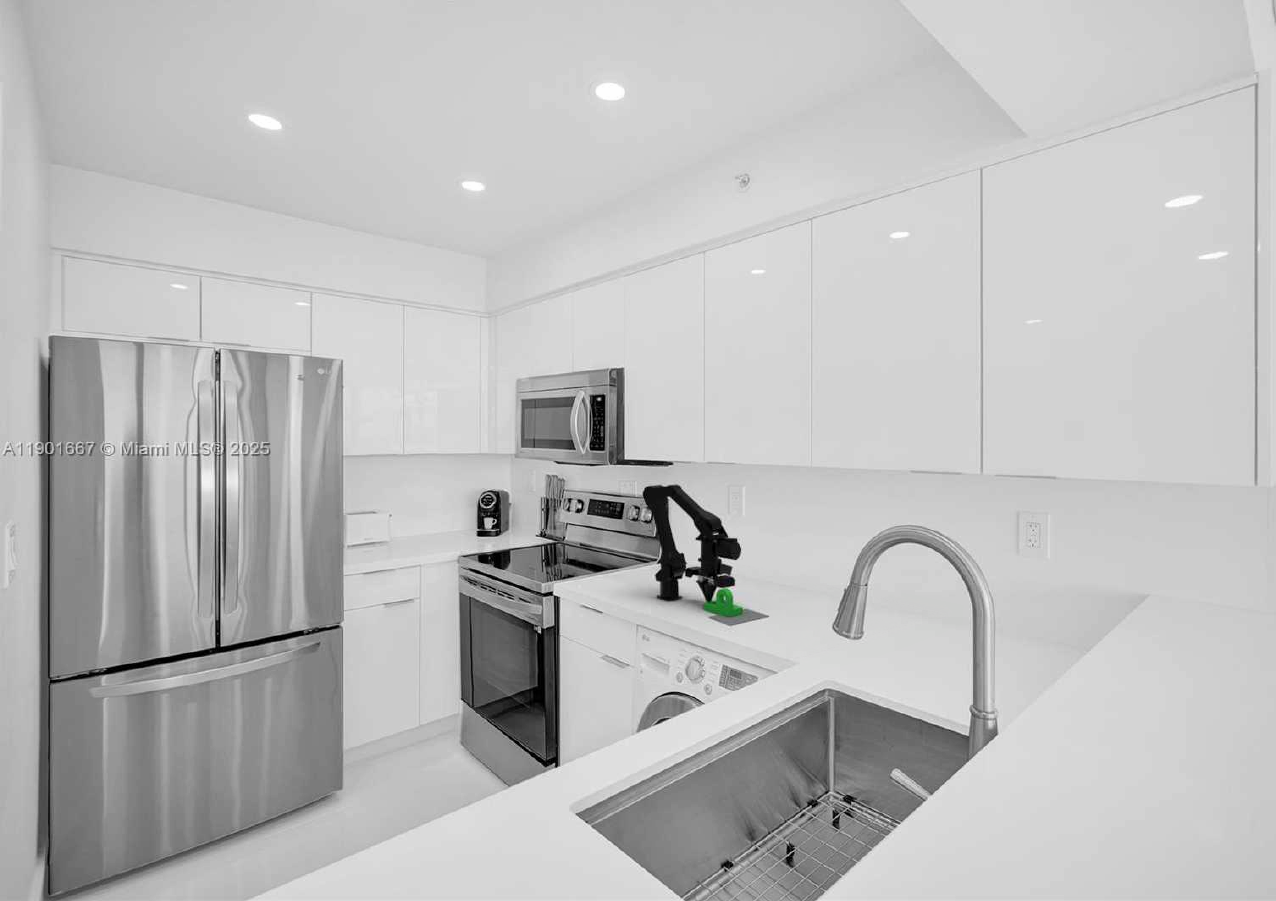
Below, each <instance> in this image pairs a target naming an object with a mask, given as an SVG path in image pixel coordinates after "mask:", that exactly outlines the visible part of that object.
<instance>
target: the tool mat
mask: <svg viewBox="0 0 1276 901" xmlns="http://www.w3.org/2000/svg"><path fill="white" fill-rule="evenodd" d="M768 616H769V615H767V614H764V613H761V612H759V611H755V610H751V609H749V608H743V614H740V615H735V616H731V617H727V616H724V615H720V614H716V615H715V614H714V615H710V616H708V618H709V619H711V620H713V619H714V620H713V621H717V622H720V623H722V624H725V625H728V626H730V627H732V626H736V625H739V624H744V623H747V622H748V621H749V622H752V621H751V620H753V621H756V620H755V619H757V620H761V619H765V618H769V617H768ZM731 625H732V626H731Z"/></svg>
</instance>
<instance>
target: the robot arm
mask: <svg viewBox="0 0 1276 901" xmlns="http://www.w3.org/2000/svg"><path fill="white" fill-rule="evenodd" d="M642 498H643V500H644V503H645V505H646V507H647V508H648V509H649V511H651V513H652V516H653V520H654V526H655V528H656V533H657V536H658V541H659V545H660V548H661V549H660V550H661V556H660V557H661V558H660V569H659V570H658V571H657V572H656V573H655V575H654V577H655V581H656V582H659V589H660V590H659V591H660V592H659V594H657V595H656V598H658V597H659V599H661V598H662V600H663V599H664V601H667V602H669V601H674V600H679V599H683V596H681V595H680V593H679V592H680V590H679V589H680V586H679V580H682V579H683V577H686V578H689V579H691V578H692V577H693V576H697V580H695V582H696V584H697V585H698V586H699V589H700V591H701V592H702V594H703V596H704V600H705V602H710V601H713V598H714V596H715V593H716V590H717V588H719V589H724V588H730V587H735V586H736V578H734V576H731V575H732V570H733V566H732V565H729V564H726V563H723V560H722V559H727V560H733V561H738V559H739V558H740V557H741V554H742V547H741V544H740V543H739V541H738V538H737V537H729V534H728V533H727V532H726V529H725V528H724V526H723V524H722V520H721V518H719V517H718V516H717V515H715V513H712V512H710V511H708V510H705V509H704V508H702V507H701V505H699V503H697V502H696V501H695V500H694V499H693V498H692V497H691V496H690V495H689V494H688V493H687V492H685V491H684V490H683V488H682V486H680V485H679V484H668V485H666V486H663V485H662V484H655V485H648V486H646V487H644V489H643V491H642ZM668 498H671V500H672V501H673V502H675V503H676V505H677V506H679V507H680V509H681V510H683V511H684V513H686V514H687V516H689V517H690V519H691V520H692V522H693V526H695V528H696V530H697V531H698V533H699V535H698V536H696V537H695V539H694V540H695V541H699V542H700V557H698V558H697V562H700V566H698V565H695V566H690V567H687V565H688V563H687V561H686V557H685V553H684V552H679V550H678V549H677V546H676V543H675V540H674V535H673V531H672V527H671V524H670V520H669V516H668V512H667V511H668V510H667V506H668V500H669V499H668Z"/></svg>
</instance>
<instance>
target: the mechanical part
mask: <svg viewBox="0 0 1276 901" xmlns="http://www.w3.org/2000/svg"><path fill="white" fill-rule="evenodd" d="M715 599H716V600H712V601H710V602H707V601H705V602H702V610H704V611H707V612H711V613H714V614H716V615H719V614H720V615H724V616H727V617H731V616H735V615H740V614H743V609H744V608H743V606H739V605H736V604H734V595H733V593H732V591H731V590H730V589H729V588H728V587H726V588H719V589H718V590H717V591H716V595H715Z"/></svg>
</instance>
